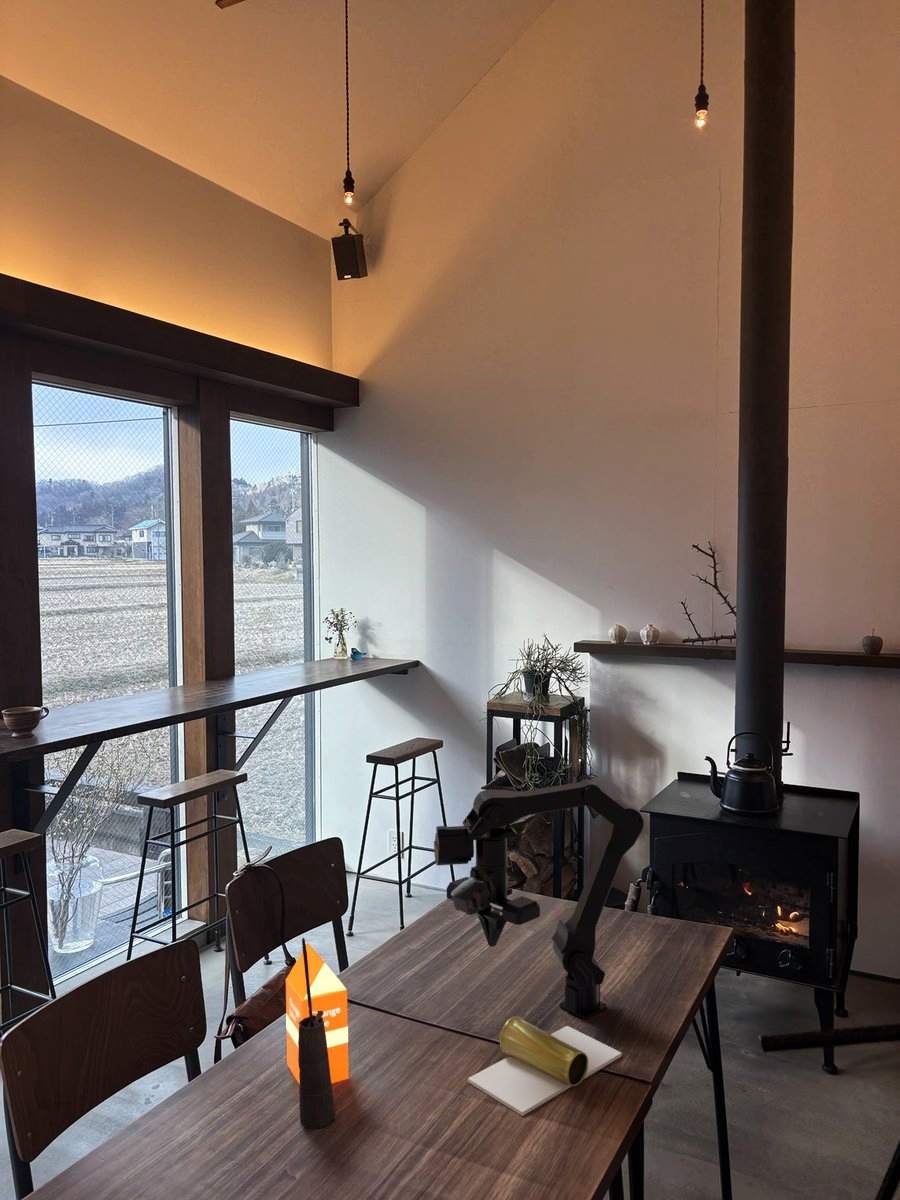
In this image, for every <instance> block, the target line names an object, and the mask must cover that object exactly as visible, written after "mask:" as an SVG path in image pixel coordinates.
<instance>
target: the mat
mask: <svg viewBox="0 0 900 1200" xmlns="http://www.w3.org/2000/svg"><path fill="white" fill-rule="evenodd" d="M549 1034H550V1033H549ZM550 1035H552V1036H553V1037H555V1038H557V1039H559V1040H561V1041H563V1042H564V1043H566V1044H568V1045H570V1046H572V1047H574V1048H576V1049H578V1050H580V1051H582V1052H584V1053H585V1054H586V1055H587V1057H588V1069H587V1073H586V1075H585V1077H584V1079H587V1078H588V1077H589V1076H591V1075H593V1074H595V1073H596V1072H598V1071H600V1070H601V1069H603V1068H604V1067H607V1066H608V1065H609V1064H611V1063H612V1062H615V1061H616V1060H618V1059H620V1058H621V1057H622V1054H623V1053H622V1052H621V1051H619V1050H617V1049H615V1048H613V1047H611V1046H608V1045H606V1044H605V1043H603V1042H601V1041H599V1040H597V1039H595V1038H593V1037H590V1036H589V1035H587V1034H584V1033H583V1032H580V1031H579V1030H577V1029H575V1028H573V1027H570V1026H569V1025H566V1026H564V1027H562V1028H560V1029H558V1030H556V1031H554V1032H552V1033H551V1034H550ZM584 1079H583V1080H584ZM467 1082H468V1083H469V1084H470V1085H472V1086H473V1087H475V1088H477V1089H478V1090H480V1091H482V1092H483V1093H485V1094H486V1095H488V1096H489V1097H491V1098H493V1100H494V1099H495V1100H496V1101H497V1102H499V1103H500V1104H502V1105H504V1106H505V1107H507V1108H509V1109H510V1110H512V1111H514V1112H515V1113H517V1114H518V1115H520V1116H522V1117H524V1116H525V1115H526V1114H528V1113H530V1112H532V1111H533V1110H535V1109H536V1108H539V1107H540V1106H541V1105H543V1104H545V1103H546V1102H548V1101H549V1100H552V1099H553V1098H554V1097H557V1096H558V1095H559V1094H561V1093H563V1092H565V1091H566V1090H569V1088H571V1087H572V1086H570V1085H568V1084H567V1083H565V1082H563V1081H561V1080H559V1079H557V1078H555V1077H553V1076H552V1075H549V1074H548V1073H545V1072H543V1071H541V1070H539V1069H537V1068H536V1067H534V1066H532V1065H530V1064H528V1063H526V1062H523V1061H521V1060H519V1059H517V1058H515V1057H513V1056H511V1055H509V1056H508V1057H505V1058H503V1059H502V1060H500V1061H497V1062H496V1063H494V1064H492V1065H490V1066H488V1067H487V1068H484V1069H483V1070H481V1071H479V1072H477V1073H475V1074H473V1075H472V1076H470V1077H468V1078H467Z"/></svg>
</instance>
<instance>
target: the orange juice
mask: <svg viewBox="0 0 900 1200" xmlns="http://www.w3.org/2000/svg"><path fill="white" fill-rule="evenodd" d="M305 944H306V950H307V959H308V969H309V983H310V993H311V1002H312V1013H313V1016H314V1015H315V1016H316V1015H317V1012H318V1011H324V1013H323V1016H322V1017H321V1018H323V1021H324V1027H325V1033H326V1040H327V1048H328V1054H329V1065H330V1075H331V1083H332V1084H334V1083H338V1082H342V1081H344V1080H348V1079H349V1044H348V1043H349V1026H348V1025H349V1024H348V990H347V988H346V987H345V986H344V984H343V983H342V981H340V979H339V978H338V977H337V976H336V974H335V972H333V971H332V969H331V968H330V967H329V965H328V964H327V963H326V962H325V961H324V960H323V958H322V957H321V956H320V955H319V954H318V952H317V951H316V950H315V949H314V948H313V947H312V945H310V943H309V942H307V943H305ZM285 1000H286V1001H285V1004H286V1006H285V1007H286V1011H285V1012H286V1013H285V1017H286V1019H285V1021H286V1061H287V1063H286V1065H287V1066H288V1068H289V1070H290V1071H291V1073H292V1075H293V1076H294V1078H295V1080H296V1081H297V1083H298V1084H299V1085H300V1080H299V1065H298V1052H299V1051H298V1049H299V1047H298V1038H299V1034H298V1032H299V1021H301V1020H302V1019H304V1018H307V1017H309V1007H308V998H307V988H306V977H305V967H304V957H303V950H302V951H301V952H300V955H299V956H298V958H297V960H296V962H295V964H294V965H293V966H292V968H291V970H290V972H289V974H288V975H287V977H286V978H285Z"/></svg>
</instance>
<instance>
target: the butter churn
mask: <svg viewBox="0 0 900 1200" xmlns="http://www.w3.org/2000/svg"><path fill="white" fill-rule="evenodd" d="M306 944H307V943H306V939H305V937H302V939H301V945H302V951H303V957H304V967H305V977H306V988H307V998H308V1007H309V1017H307V1018H304V1019H302V1020H301V1021H299V1032H298V1034H299V1038H298V1047H299V1049H298V1051H299V1052H298V1065H299V1080H300V1084H299V1091H298V1092H299V1122H300V1123H301V1125H302V1126H303V1127H304V1128H308V1129H311V1130H316V1129H317V1130H318V1129H320V1128H321V1129H322V1128H324V1127H327V1126H329V1125H331V1122H332V1121H333V1120H335V1119H336V1107H335V1100H334V1093H333V1083H331V1075H330V1065H329V1054H328V1048H327V1040H326V1033H325V1027H324V1021H323V1018H321V1017H322V1016H323V1013H324V1011H318V1012H317V1015H316V1016H315V1015H314V1016H313V1013H312V1002H311V993H310V983H309V969H308V959H307V950H306Z"/></svg>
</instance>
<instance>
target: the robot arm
mask: <svg viewBox="0 0 900 1200" xmlns="http://www.w3.org/2000/svg"><path fill="white" fill-rule="evenodd" d="M585 806H586V807H587V806H588V807H590V808H591V809H593V810H594V811H595V812H597V813H598V814H599V815H600V816H601V820H600V825H599V844H598V848H597V851H596V854H595V857H594V859H593V862H592V864H591V866H590V869H589V873H588V875H587V876H586V880H585V882H584V885H583V888H582V891H581V893H580V895H579V899H578V901H577V903H576V907H575V908H574V911H573V914H572V916H570V918H569V919H568V920H567V921H566V922H565V921H563V920H562V919H558V922H557V926H556V929H555V933H554V934H553V935H552V936H551V939H550V940H552V942H553V943H552V950H553V952H554V955H555V956H556V958H557V959H558V962H560V963H559V964H561V966H562V967H563V969H564V970H565V971H566V972H567V973H566V974H567V975H566V976H565V986H564V1001H562V1002H559V1004H558V1005H559V1008H561V1009H563V1010H566V1011H567V1012H570V1013H571V1014H574V1015H576V1016H577V1017H580V1018H581V1019H585V1020H586V1019H589V1018H590V1017H593V1016H594V1015H596V1014H598V1013H600V1012H601V1011H604V1010H605V1009H608V1005H607V1004H606V1003H604V1002H602V1001H601V985H602V984H603V982H604V979H605V977H606V976H605V975H606V973H605V971H604V969H602V967H601V966H600V964H599V963H598V962H597V960H596V959H595V958H594V955H595V952H596V935H597V934H596V931H597V926H598V924H599V920H600V918H601V915H602V912H603V910H604V908H605V907H604V906H605V904H606V901H607V899H608V896H609V894H610V891H611V888H612V886H613V883H614V880H615V878H616V875H617V872H618V869H619V867H620V865H621V863H622V859H623V858H624V856H625V854H627V853H628V852H629V851H630V850H631V849H632V848H633V847H634V845H636V842H637V841H638V839H639V837H640V835H641V833H642V832H643V830H644V825H645V821H644V817H643V816H642V814H641V813H640V812H639V811H638V810H637V809H635V808H634V807H632V805H631V804H629V803H627V802H626V801H624V800H621V799H617V800H614V799H613V798H611V797H610V796H609V795H607V794H606V793H605V792H604V791H602V789H601V788H600V787H599V786H598V785H597V784H595V783H594V782H593V781H591V780H588V779H582V780H580V781H579V782H572V783H567V784H566V783H565V784H561V785H553V786H547V787H541V788H535V789H530V790H524V791H523V790H522V791H518V790H517V791H514V790H506V789H484V790H482V791H480V792H479V793H477V795H476V796H475V798H474V800H473V803H472V808H471V810H470V811H469V813H468V814H467V815H466V817H465V818H464V820H463V821H462V825H458V826H455V825H453V826H446V825H440V826H439V825H438V826H436V827H435V828H436V829H435V830H436V831H435V832H436V833H435V836H434V837H435V838H434V841H433V854H434V860H435V865H436V866H437V867H438V866H453V865H454V866H455V865H468V863H469V862H471V861H472V858H474V856H475V866H472V867H471V868H470V871H469V877H468V876H465V877H462V878H459V879H456V880H454V881H451V882H449V884H448V885H447V887H446V899H448V900H449V901H450V900H451V901H452V902H453V906H454V909H455V910H456V911H458V912H460V911H461V912H462V913H465V914H466V915H469V916H473V915H474V914H475V915H476V916H477V917H478V920H479V922H480V924H481V927H482V931H483V933H484V935H485V938H486V939H485V940H486V942H487V945H488V946H489V947H491V948H494V947H495V946H497V943H498V941H499V939H500V937H501V935H502V932H503V930H504V928H505V926H506V924H507V922H508V923H510V924H513V925H516V926H517V925H518V926H520V925H524V924H526V923H528V922H531V921H533V920H536V919H538V918H539V917H541V906H540V903H538V901H536V900H535V899H532V898H528V897H525V896H519V897H516V898H511V897H508V896H510V895H513V888H511V887H508V874H510V873H512V872H513V867H512V865H509V864H508V839H518V837H519V834H518V832H517V831H516V830H515V829H514V828H513V827H512V826H511V825H512V824H515V823H516V822H517V821H520V820H521V819H523V818H525V817H527V816H532V815H539V814H545V813H550V812H556V811H561V810H567V809H568V810H569V809H575V808H580V807H581V808H582V807H585ZM474 841H475V845H474Z"/></svg>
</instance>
